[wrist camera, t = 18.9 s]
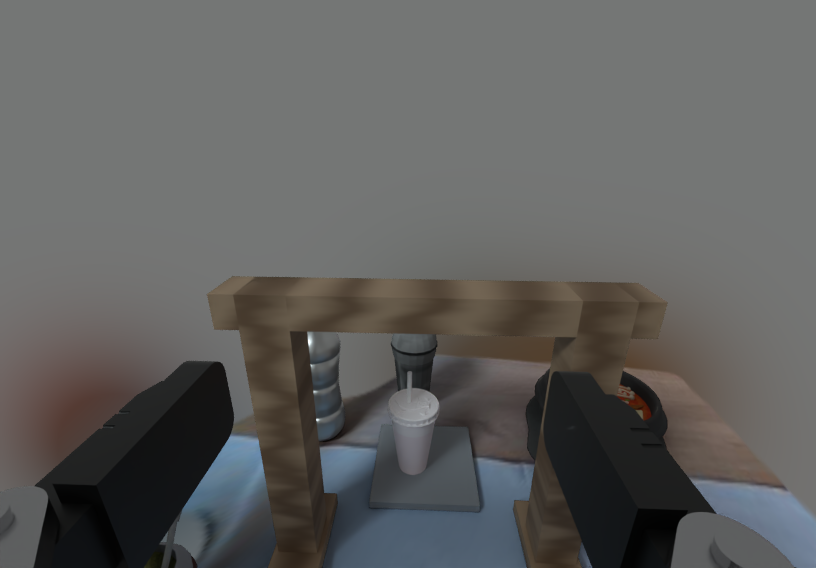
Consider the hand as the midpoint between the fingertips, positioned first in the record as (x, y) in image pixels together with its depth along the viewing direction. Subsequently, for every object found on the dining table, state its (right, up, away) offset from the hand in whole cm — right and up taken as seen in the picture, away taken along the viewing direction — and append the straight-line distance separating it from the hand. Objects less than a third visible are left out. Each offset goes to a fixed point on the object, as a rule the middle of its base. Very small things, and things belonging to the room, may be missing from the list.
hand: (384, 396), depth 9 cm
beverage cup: (+2, -17, +53) cm, 56 cm away
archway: (+2, -26, +31) cm, 40 cm away
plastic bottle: (-12, -20, +48) cm, 53 cm away
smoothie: (+1, -21, +41) cm, 46 cm away
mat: (+3, -22, +41) cm, 47 cm away
